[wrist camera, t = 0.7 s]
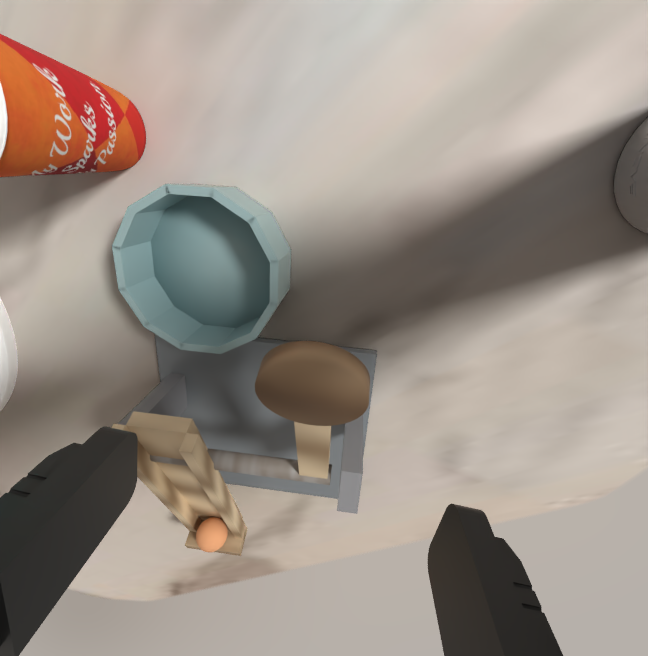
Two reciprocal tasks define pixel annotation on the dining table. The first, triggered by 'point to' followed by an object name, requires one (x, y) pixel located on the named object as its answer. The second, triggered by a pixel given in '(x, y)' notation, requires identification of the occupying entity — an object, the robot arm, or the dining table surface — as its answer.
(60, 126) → the paper cup
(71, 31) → the dining table surface
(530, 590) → the robot arm
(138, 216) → the bowl
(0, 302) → the plate stack
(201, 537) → the ball
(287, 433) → the stand
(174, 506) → the lever
